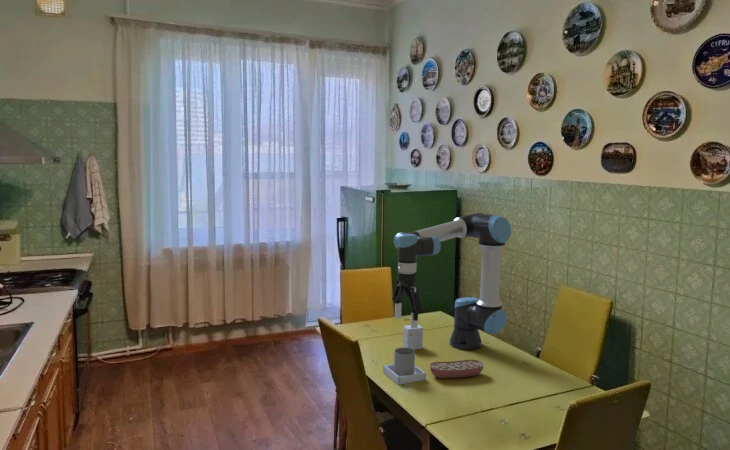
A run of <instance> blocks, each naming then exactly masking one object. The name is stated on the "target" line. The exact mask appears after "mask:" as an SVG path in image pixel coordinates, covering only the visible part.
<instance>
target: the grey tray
mask: <svg viewBox="0 0 730 450" xmlns="http://www.w3.org/2000/svg"><path fill="white" fill-rule="evenodd" d="M382 367H383V368H382V372H383V374H384V375H386V376H387V377H388V378H389V379H391V381H393V383H395V384H397V386H399V385H404V384H410V383H415V382H422V381H425V380H426V378H427V377H426V376H427V372H425V371H424V370H423V369H421V368H420V367H418V366H417V365H415V368H414V374H412V375H406V376H400V377H399V376H398V375H397V374H395V373H394V363H392V364H384V365H383V366H382Z"/></svg>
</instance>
